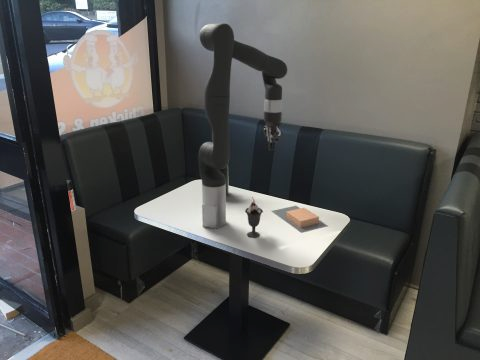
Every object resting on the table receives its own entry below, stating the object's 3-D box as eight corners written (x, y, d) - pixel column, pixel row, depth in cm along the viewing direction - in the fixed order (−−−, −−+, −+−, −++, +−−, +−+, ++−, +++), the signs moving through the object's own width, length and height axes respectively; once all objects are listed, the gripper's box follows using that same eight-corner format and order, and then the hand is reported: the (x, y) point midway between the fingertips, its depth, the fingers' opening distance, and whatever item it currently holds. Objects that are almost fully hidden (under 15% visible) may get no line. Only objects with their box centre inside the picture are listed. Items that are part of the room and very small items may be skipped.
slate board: (327, 227, 158) (328, 225, 157) (301, 234, 152) (301, 232, 152) (296, 207, 176) (296, 205, 176) (271, 212, 170) (271, 211, 170)
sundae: (251, 229, 156) (252, 193, 151) (265, 234, 152) (266, 198, 147) (241, 235, 151) (241, 199, 146) (255, 240, 147) (256, 203, 142)
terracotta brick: (286, 211, 163) (300, 221, 154) (304, 207, 167) (319, 216, 158) (285, 217, 164) (300, 227, 155) (303, 213, 168) (318, 223, 159)
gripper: (289, 112, 161) (287, 153, 167) (272, 106, 172) (270, 145, 178) (273, 113, 158) (272, 155, 164) (257, 108, 169) (256, 147, 175)
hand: (271, 150), depth 171 cm, fingers closed
